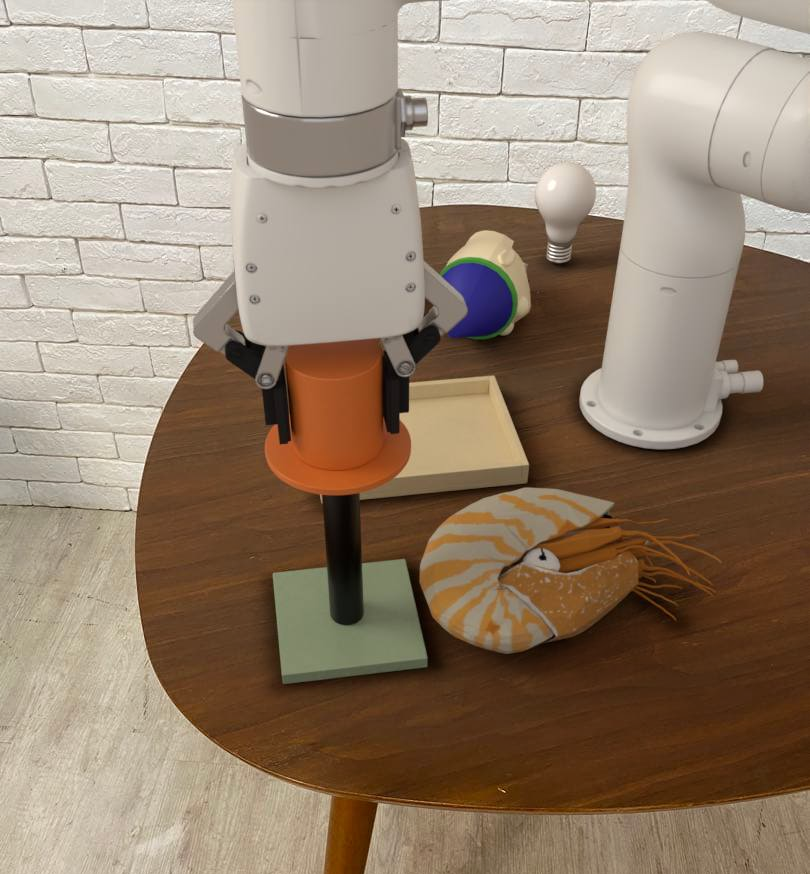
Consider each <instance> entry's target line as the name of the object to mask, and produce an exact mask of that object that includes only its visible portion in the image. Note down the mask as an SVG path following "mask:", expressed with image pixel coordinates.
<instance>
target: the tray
mask: <svg viewBox="0 0 810 874" xmlns="http://www.w3.org/2000/svg"><path fill="white" fill-rule="evenodd" d="M400 420H401V421H402V423H403V424H404V425H405V426H406V428H407V430H408V432H409V434H410V437H411V454H410V458H409V460H408V462H407V464H406V466H405V467H404V469H403V470H402V471H401V472H400V473H399V474H398V475H397V476H396V477H394V478H393V479H392V480H390V481H389V482H387V483H385V484H384V485H381V486H379V487H377V488H375V489H372V490H369V491H365V492H361V493H360V501H363V500H372V499H384V498H393V497H402V496H403V497H405V496H413V495H414V496H415V495H422V494H423V495H425V494H432V493H444V492H455V491H464V490H473V489H483V488H493V487H494V488H495V487H504V486H513V485H523V484H528V481H529V470H530V462H529V461H528V458H527V455H526V453H525V450H524V448H523V445H522V443H521V440H520V437H519V435H518V432H517V429H516V428H515V427H516V426H515V425H514V422H513V420H512V417H511V414H510V411H509V409H508V406H507V404H506V402H505V399H504V397H503V394H502V391H501V389H500V387H499V383H498V380H497V378H496V376H495V375H484V376H472V377H470V376H469V377H461V378H450V379H449V378H448V379H447V378H446V379H439V380H438V379H437V380H427V381H425V380H424V381H414V382H409V412H408V413H400ZM319 497H320V503H321V505H323V500H322V495H321V494H319Z"/></svg>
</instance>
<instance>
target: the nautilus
mask: <svg viewBox="0 0 810 874" xmlns="http://www.w3.org/2000/svg"><path fill="white" fill-rule="evenodd" d="M614 506H615V501H614V502H613V501H609V500H605V499H601V498H596V497H593V496H590V495H589V496H588V495H584V494H579V493H575V492H571V491H567V490H563V489H558V488H545V487H522V488H519V489H516V490H511V491H505V492H501V493H498V494H494V495H490V496H487V497H483V498H481V499H479V500H477V501H475V502H473V503H470V504H469V505H467V506H466V507H464V508H462V509H461V510H460V509H459V511H457V512H455V513H454V514H452V515H450V516H449V517H448V518H447V519H446V520H445V521H443V522H442V523H440V525H439V526H438V527H437V528H436V530H435V531H434V532H433V534H432V535H431V536H430V537H429V539H428V542H427V543H426V547H425V550H424V553H423V556H422V558H421V561H420V563H419V585H420V588H421V590H422V593H423V596H424V598H425V600H426V604H427V605H428V608H429V612H430V614H431V617H432V618H433V619H434V621H436V622H437V623H438V625H439V626H440V627H441V628H442V629H444V630H445V631H446V632H447V633H449V634H450V635H451V636H453V637H454V638H456V639H458V640H461V641H463V642H464V643H467V644H469V645H472V646H475V647H478V648H481V649H484V650H487V651H491V652H496V653H500V654H504V655H509V654H515V653H521V652H522V653H523V652H525V651H527V650H531V649H533V648H534V647H536V646H538V645H540V644H541V645H542V644H546V643H551V642H555V641H561V640H564V639H569V638H574V637H575V636H578V635H581V634H582V633H584V632H586V631H587V630H588V629H589V628H591V627H592V626H593V625H594V624H596V623H597V622H599V621H600V620H601V619H602V618H604V617H605V616H606V615H607V614H608V613H610V612H611V611H612V610H613V609H614V608H616V606H618V604H619V603H620V602H621V601H623V600H624V599H625V598H626V597H627V596H628V594H630V593H631V592H633V593H634V592H635V593H636V594H637V595H639V596H640V597H642V598H643V599H645V600H646V601H648V602H650V604H652V605H654V606H655V607H657V608H659V609H660V610H662V611H663V612H664V613H665V614H667V616H670V617H672V619H673V620H674V621H675V622H677V619H676V617H675V616H674V614H672V613H671V612H669V611H668V610H666V609H665V607H664V606H662V605H660V604H658V603H657V602H655V601H654V600H652V599H651V598H650V597H648V596H646V595H645V594H644V593H642V592H645V593H647V594H649V595H652V596H654V597H659V598H661V599H663V600H665V601H667V602H669V603H672V604H674V605H675V606H676V607H679V605H678V603H676V601H673V600H672V599H669V598H666V597H665V596H664V595H662V594H659V593H655V592H653V591H651V590H648V589H645V588H650V589H660V588H677V589H683V587H682V586H679V585H677V584H667V583H663V584H659V585H652V584H648V583H645V582H641V581H639V579H641V578H643V577H644V578H646V579H649V580H650V581H653V582H654V583H655V584H656V583H657V581H656V579H655V578H653V577H654V576H657V575H665V576H668V577H672V578H674V579H677V580H681V581H683V582H686V583H689V584H691V585H694V586H695V587H697V589H700V590H702V591H703V592H705V593H707V594H709V595H710V596H711V597H714V595H713V594H712V592H714V593H717V591H716V590H715V589H713V588H712V587H714V585H713V583H712V581H710V579H709V580H708V579H707V578H706V577H705V576H703V575H702V574H700V573H699V572H697V571H696V570H694V569H692V568H691V567H689V566H687V565H686V564H684V563H683V561H682V560H681V558H680V557H678V555H676V554H675V553H674V552H673V551H672V550H671V549H670V548H669V547H668V546H667V545H673V546H676V547H678V548H679V547H680V548H683V549H686V550H691V551H695V552H698V553H701V554H703V555H706V556H707V557H710V558H712V559H714V560H717V561H718V562H719V563H720V564H723V562H722V560H721V559H720V558H718V557H716V556H715V555H713V554H711V553H709V552H707V551H705V550H702V549H699V548H698V547H693V546H690V545H687V544H683V543H679V542H676V541H673V540H683V539H688V538H694V537H701V535H700V534H696V533H695V534H693V533H692V534H687V535H682V536H681V535H680V536H671V535H669V536H668V535H667V536H665V535H664V536H654V535H652V534H650V533H648V532H645V531H640V530H633V529H631V530H629V529H628V530H625V529H622V528H621V527H620V526H619V525H620V524H621V523H625V522H628V523H632V524H636V525H646V524H655V523H656V524H657V523H660V522H661V523H662V522H665V521H669V520H670V519H669V518H664V519H660V520H655V521H640V522H639V521H634V520H631V519H629V518H628V519H627V518H623V519H620V518H613V516H612V515H610V510H611V509H612V508H613V507H614ZM611 526H612V527H611ZM636 535H637V536H641V537H643V538H640V537H637V538H630V537H631V536H632V537H633V536H636ZM647 545H649V546H660V547H661V548H662V549H663V550H665V552H667V553H668V554H667V553H665V552H662V551H659V550H657V549H656V550H655V549H653V548H650V547H647ZM642 557H645V558H646V560H647V561H648V563H649V564H650V566H649V565H646V564H645V560H644V559H642ZM650 558H663V559H668V560H670V561H671V562H673V563H675V564H677V565H679V566H680V567H682V568H684V569H685V570H686V572H687V574H688V576H691V574H690V572H691V573H693V574H694V575H696V576H697V577H699V578H700V579H701V580H703V581H705V582H706V583H708V584H709V585H711V586H712V587H710V586H707V585H705V584H701V583H700V582H698V581H696V580H691V579H689V578H687V577H685V576H683V575H682V574H680V573H678V572H675V571H673V570H672V569H670V568H668V567H662V566H654V564H653V562H652V561H651V559H650ZM643 570H645V571H643ZM646 571H654V572H646ZM640 586H642V587H640ZM644 587H645V588H644ZM711 591H712V592H711Z"/></svg>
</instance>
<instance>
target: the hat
mask: <svg viewBox="0 0 810 874" xmlns="http://www.w3.org/2000/svg"><path fill="white" fill-rule="evenodd" d="M382 356H383V348H382V346H381V344H380V342H379V341H378V340H377V339H366V340H354V341H343V342H331V343H318V344H305V345H291V346H289V348H288V351H287V354H286V357H285V360H284V364H285V365H284V367H285V378H286V388H287V398H288V409H289V421H290V432H291V441H288V444H280V443H279V434H278V425H277V424H275V425H272V427H271V428H270V430H269V432H268V434H267V436H266V438H265V442H264V454H265V460H266V463H267V466H268V467H269V468H270V470H271V472H272V473H273V474H274V475H275V476H276V477H277V478H278V479H280V480H281V481H282V482H283V483H284V484H286V485H289V486H290V487H292V488H294V489H297V490H300V491H302V492H306V493H311V494H316V495H320V494H321V495H350V494H357V493H361V492H365V491H369V490H372V489H375V488H377V487H379V486H381V485H384V484H385V483H387V482H389V481H390V480H392V479H393V478H394V477H396V476H397V475H398V474H399V473H400V472H401V471H402V470H403V469H404V467H405V466H406V464H407V462H408V460H409V458H410V454H411V437H410V434H409V432H408V430H407V428H406V426H405V425H404V424H403V423H402V421H401V420H400V432H399V434H391V433H390V432H387V429H386V425H385V421H384V417H383V364H382Z"/></svg>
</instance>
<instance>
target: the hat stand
mask: <svg viewBox="0 0 810 874" xmlns="http://www.w3.org/2000/svg"><path fill="white" fill-rule="evenodd" d="M322 500H323V504H322V512H323V513H322V515H323V528H324V541H325V542H324V543H325V558H326V566H323V567H315V568H307V569H305V568H304V569H297V570H296V569H295V570H287V571H286V570H285V571H277V572H273V573H272V582H273V583H272V584H273V593H274V604H275V614H276V616H275V617H276V628H277V638H278V649H279V659H280V671H281V680H282V681H281V682H282V684H283V685H289V684H296V683H297V684H298V683H306V682H313V681H321V680H322V681H323V680H330V679H338V678H346V677H347V678H348V677H355V676H364V675H365V676H366V675H373V674H381V673H389V672H399V671H406V670H407V671H408V670H414V669H415V670H416V669H422V668H428V661H429V658H428V653H427V649H426V643H425V640H424V639H425V638H424V635H423V631H422V626H421V622H420V617H419V613H418V608H417V603H416V600H415V595H414V591H413V587H412V582H411V578H410V573H409V569H408V565H407V560H406V559H405V558H399V559H389V560H381V561H371V562H370V561H369V562H363V552H362V551H363V550H362V525H361V523H362V522H361V500H360V493H357V494H350V495H322Z"/></svg>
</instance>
